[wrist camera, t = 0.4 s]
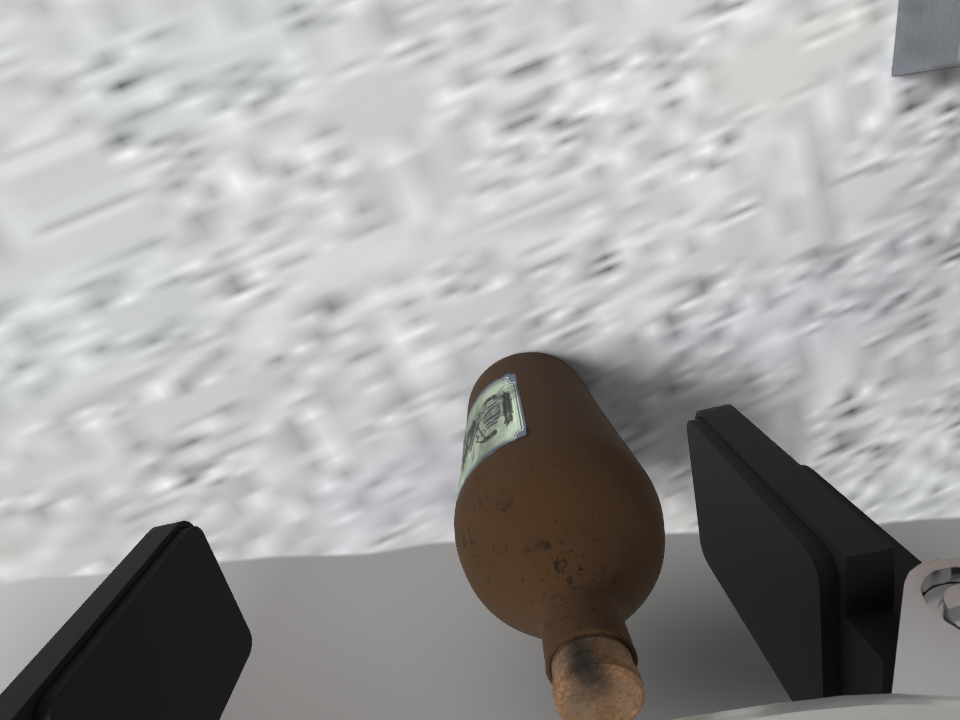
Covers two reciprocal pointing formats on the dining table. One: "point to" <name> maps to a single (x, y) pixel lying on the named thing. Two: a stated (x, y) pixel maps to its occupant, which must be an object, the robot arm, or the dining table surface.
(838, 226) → the dining table surface
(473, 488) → the olive oil
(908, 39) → the grey square holed block
